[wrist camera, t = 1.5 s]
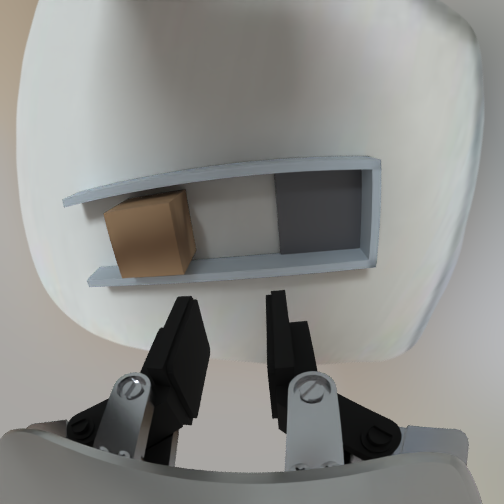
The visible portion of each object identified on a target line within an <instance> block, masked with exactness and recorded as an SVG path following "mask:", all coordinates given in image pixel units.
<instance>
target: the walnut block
mask: <svg viewBox="0 0 504 504" xmlns="http://www.w3.org/2000/svg"><path fill="white" fill-rule="evenodd" d="M104 218H105V222H106V226H107V230H108V233H109V237H110V241H111V244H112V248H113V251H114V254H115V258H116V261H117V264H118V267H119V270H120V274H121V277H122V278H136V277H154V276H170V275H184V274H185V272H186V270H187V268H188V266H189V264H190V262H191V260H192V258H193V256H194V254H195V252H196V245H195V240H194V235H193V230H192V224H191V219H190V213H189V207H188V202H187V196H186V189H185V190H178V191H172V192H165V193H159V194H153V195H147V196H141V197H135V198H130V199H127V200H125V201H124V202H122V203H120V204H119V205H117V206H115V207H113V208H112V209H110V210H108V211H107V212H105V213H104Z"/></svg>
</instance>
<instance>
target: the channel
mask: <svg viewBox="0 0 504 504" xmlns="http://www.w3.org/2000/svg"><path fill="white" fill-rule="evenodd" d="M273 173H274V176H275V187H276V199H277V212H278V225H279V239H280V253H275V254H263V255H250V256H238V257H225V258H213V259H200V260H191V262H190V264H189V266H188V268H187V270H186V272H185V274H184V275H170V276H154V277H136V278H122V277H121V274H120V270H119V267H118V266H109V267H99V268H98V269H97V270H96V271H95V272H94V273H93V274H92V275H91V276H90V277H89V279H88V280H87V282H88V285H89V287H101V286H129V285H151V284H171V283H190V282H206V281H222V280H236V279H250V278H264V277H276V276H288V275H300V274H312V273H322V272H333V271H343V270H353V269H363V268H373V267H376V263H377V253H378V241H379V228H380V208H381V160H380V159H377V158H373V157H369V156H328V157H303V158H286V159H272V160H260V161H250V162H240V163H231V164H223V165H215V166H207V167H200V168H193V169H187V170H181V171H175V172H169V173H163V174H157V175H152V176H147V177H142V178H137V179H132V180H127V181H123V182H118V183H114V184H109V185H105V186H101V187H97V188H93V189H89V190H85V191H81V192H78V193H76V194H73V195H71V196H69V197H67V198H65V199H62V201H63V205H64V207H68V206H72V205H76V204H80V203H84V202H88V201H93V200H97V199H102V198H106V197H111V196H116V195H121V194H126V193H131V192H137V191H142V190H148V189H153V188H159V187H165V186H171V185H178V184H184V183H191V182H199V181H206V180H214V179H222V178H231V177H240V176H250V175H261V174H273Z"/></svg>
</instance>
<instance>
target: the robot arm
mask: <svg viewBox="0 0 504 504" xmlns="http://www.w3.org/2000/svg"><path fill="white" fill-rule="evenodd" d="M266 325H267V368H268V379H269V380H268V381H269V390H270V399H271V409H272V418H273V419H274V418H278V425H279V429H280V430H281V431H283V432H284V433H286V434H287V437H286V438H287V439H286V457H285V472H265V473H264V472H263V473H241V472H240V473H238V472H216V471H204V470H194V469H185V468H179V467H175V459H176V451H177V443H178V436H179V429H180V428H182V427H183V425H192V421H193V418H197V416H198V411H199V407H200V401H201V395H202V391H203V386H204V381H205V376H206V371H207V367H208V362H209V357H210V347H209V343H208V339H207V336H206V332H205V328H204V324H203V321H202V317H201V313H200V309H199V305H198V301H197V300H196V299H193V298H192V296H181V297H177V299H176V301H175V303H174V306H173V308H172V310H171V312H170V314H169V317H168V319H167V321H166V323H165V326H164V328H160V329H159V331H158V333H157V335H156V337H155V340H154V342H153V344H152V346H151V349H150V351H149V353H148V356H147V358H146V361H145V362H144V365H143V367H142V370H141V372H140V373H137V372H134V373H129V374H125V375H124V376H122V377H120V378H119V379H118V380H117V381H116V383H115V384H114V386H113V389H112V392H111V394H110V397H109V399H107V400H105V401H103V402H101V403H99V404H97V405H95V406H93V407H91V408H89V409H87V410H85V411H83V412H80V413H78V414H77V415H75V416H73V417H72V418H71V419H70V421H69V422H68V421H67V420H60V421H52V422H44V423H35V424H31V425H30V426H28V427H27V428H26V429H25V428H22V429H14V430H10V431H8V432H7V433H5V434H4V435H3V436H2V438H1V439H0V504H482V500H481V497H480V494H479V491H478V488H477V486H476V483H475V481H474V479H473V477H472V474H471V473H470V471H469V469H468V468H467V457H468V446H469V444H468V438H467V436H466V434H465V433H463V432H462V431H461V430H457V429H444V428H430V427H419V426H410V425H408V426H407V428H403V427H398V425H397V424H396V423H394V422H393V421H392V420H390V419H388V418H386V417H384V416H381V415H379V414H377V413H375V412H373V411H371V410H369V409H367V408H365V407H363V406H361V405H359V404H357V403H355V402H353V401H351V400H349V399H347V398H345V397H343V396H342V395H340V394H338V393H337V389H336V385H335V382H334V381H333V379H332V378H331V377H330V376H328V375H327V374H325V373H321V372H317V367H316V361H315V356H314V351H313V346H312V341H311V337H310V332H309V327H308V323H307V321H301V322H290V323H289V318H288V310H287V302H286V295H285V290H279V291H271V295H266Z"/></svg>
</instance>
